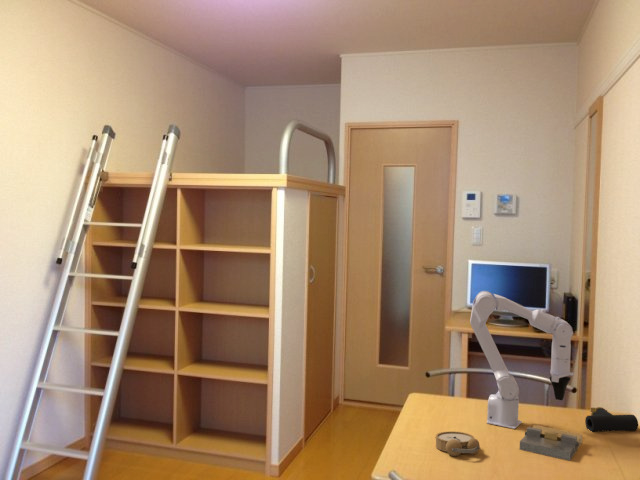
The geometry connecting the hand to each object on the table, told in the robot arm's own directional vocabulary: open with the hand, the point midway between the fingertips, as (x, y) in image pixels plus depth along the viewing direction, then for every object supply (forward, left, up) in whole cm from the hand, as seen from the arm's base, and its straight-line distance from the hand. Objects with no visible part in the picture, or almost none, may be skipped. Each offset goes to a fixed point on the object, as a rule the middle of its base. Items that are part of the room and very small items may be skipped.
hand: (559, 399), depth 199 cm
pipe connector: (+12, +11, -10) cm, 19 cm away
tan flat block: (+2, -14, -9) cm, 17 cm away
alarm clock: (-20, -37, -10) cm, 43 cm away
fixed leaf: (+2, -21, -9) cm, 24 cm away
